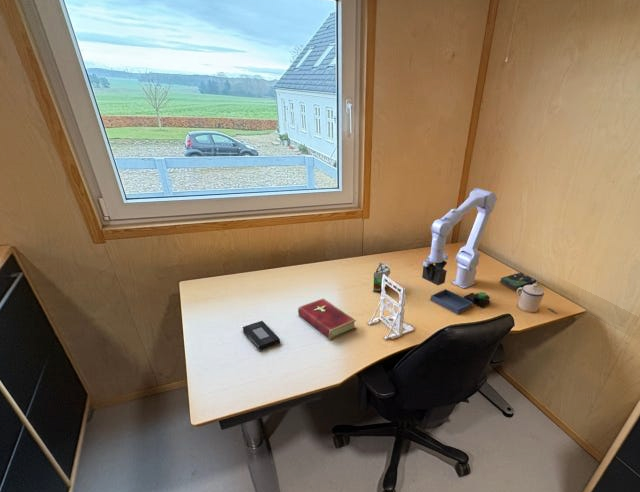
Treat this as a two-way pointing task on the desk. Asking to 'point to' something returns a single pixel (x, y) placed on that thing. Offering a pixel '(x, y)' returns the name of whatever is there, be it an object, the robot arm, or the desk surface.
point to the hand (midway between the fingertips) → (433, 277)
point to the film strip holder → (392, 310)
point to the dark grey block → (435, 275)
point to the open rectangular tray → (451, 301)
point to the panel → (478, 300)
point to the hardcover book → (327, 318)
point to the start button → (482, 295)
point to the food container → (380, 277)
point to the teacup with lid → (530, 297)
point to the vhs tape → (261, 335)
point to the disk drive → (517, 281)
